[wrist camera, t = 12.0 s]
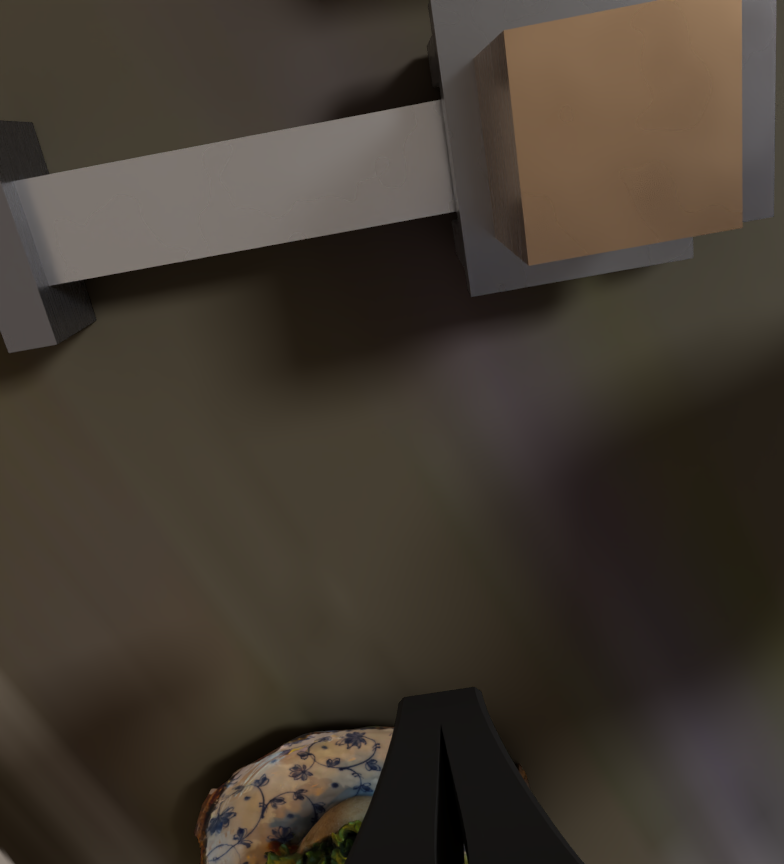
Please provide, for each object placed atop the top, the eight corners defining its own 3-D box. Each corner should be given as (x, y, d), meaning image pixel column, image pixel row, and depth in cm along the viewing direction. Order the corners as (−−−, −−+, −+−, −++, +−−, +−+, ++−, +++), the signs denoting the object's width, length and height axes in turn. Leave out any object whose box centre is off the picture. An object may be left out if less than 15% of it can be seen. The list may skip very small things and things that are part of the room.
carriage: (638, -23, 17) (790, -120, 11) (650, 242, 19) (783, 291, 13) (422, 20, 17) (446, -51, 11) (459, 276, 19) (496, 340, 13)
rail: (722, -13, 17) (776, -37, 15) (724, 207, 19) (773, 216, 17) (-15, 131, 18) (-76, 129, 16) (53, 327, 20) (8, 352, 18)
